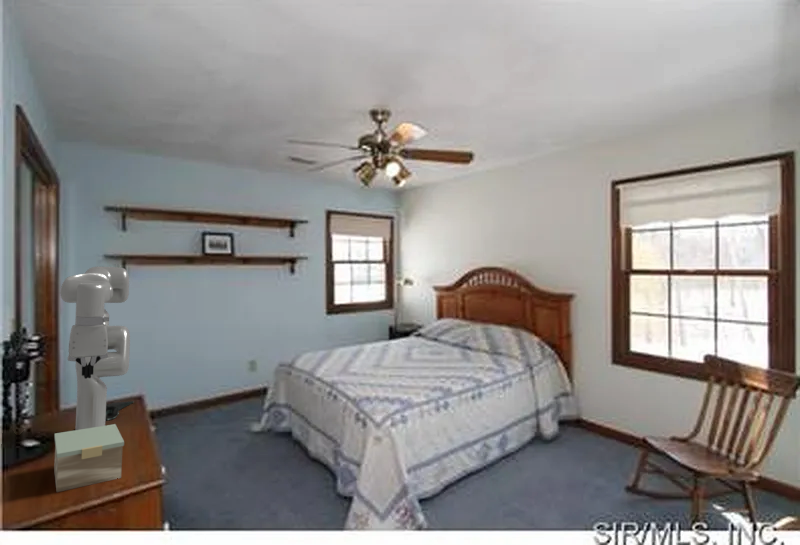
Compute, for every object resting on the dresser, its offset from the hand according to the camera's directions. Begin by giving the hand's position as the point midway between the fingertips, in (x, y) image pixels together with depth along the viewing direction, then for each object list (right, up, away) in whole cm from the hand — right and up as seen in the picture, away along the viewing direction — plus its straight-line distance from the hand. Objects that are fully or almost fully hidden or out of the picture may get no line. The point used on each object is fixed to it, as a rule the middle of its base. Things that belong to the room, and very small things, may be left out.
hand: (87, 377), depth 143 cm
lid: (+3, -21, -3) cm, 21 cm away
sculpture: (-27, -29, +54) cm, 68 cm away
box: (+2, -30, -3) cm, 30 cm away
